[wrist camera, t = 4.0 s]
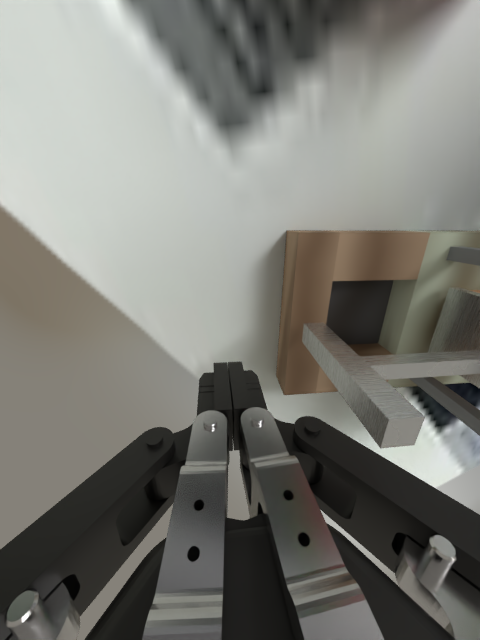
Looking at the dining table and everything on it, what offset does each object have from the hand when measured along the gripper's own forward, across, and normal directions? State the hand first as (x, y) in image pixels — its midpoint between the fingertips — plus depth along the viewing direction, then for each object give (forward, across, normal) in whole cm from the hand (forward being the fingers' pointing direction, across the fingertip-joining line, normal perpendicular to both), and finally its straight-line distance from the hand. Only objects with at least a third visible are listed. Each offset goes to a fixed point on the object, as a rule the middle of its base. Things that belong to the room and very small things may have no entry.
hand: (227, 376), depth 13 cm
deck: (+10, -22, 0) cm, 24 cm away
